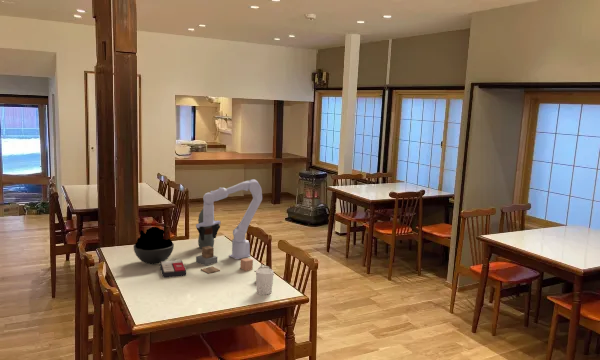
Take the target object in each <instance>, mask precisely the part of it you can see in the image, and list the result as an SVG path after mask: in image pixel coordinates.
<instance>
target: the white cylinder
mask: <svg viewBox="0 0 600 360" xmlns="http://www.w3.org/2000/svg"><path fill="white" fill-rule="evenodd" d="M255 271H256V272H255V282H256V283H255V285H256V293H257V294H259V295H261V294H262V295H263V296H266V295H267V294H268V295H270V294H272V290H273V284H274V275H273V274H274V273H275V272H274V270H273V269H271V268H270V269H268V268H260V269H256V270H255Z"/></svg>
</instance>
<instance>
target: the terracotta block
mask: <svg viewBox="0 0 600 360" xmlns="http://www.w3.org/2000/svg"><path fill="white" fill-rule="evenodd" d="M253 266H254V259H252V258H249V257H245V258H240V268H239V269H240V270H242V269H243V270H242V271H244V272H246V271H251V270H253Z"/></svg>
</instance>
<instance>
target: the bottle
mask: <svg viewBox="0 0 600 360" xmlns="http://www.w3.org/2000/svg"><path fill="white" fill-rule="evenodd" d="M197 218H198V221H197V222H198V223H197V224H199V223H202V222H203V208H202V209H201V211H200V212H199V214H198V217H197ZM214 221H216V220H215V219H214ZM203 228H204V229H205V233H204V240H201V238H200V234H199V233H198V240H197V244H198V248H199V249H200V250H202V247H206V246H211V247H213V248H214V246H215V238H213V236H212V233H213V232H212V226H206V227H203Z"/></svg>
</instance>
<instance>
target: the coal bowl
mask: <svg viewBox="0 0 600 360" xmlns="http://www.w3.org/2000/svg"><path fill="white" fill-rule="evenodd" d="M165 232H166V231H165V230H164V229H162V228H160V227H158V226H151V227H149V228H148V229H146V232H144V231H143V230H140V233H139V237H138V238H137V240H136V242H135V243H134V244H133V251H134V255H135V256H136V257H137V258H138V259H139V260H140V261H141V262H143V263H144V264H148V265H160V262H161V261H167V259H169V257H170V256H171V255H172V253H173V251H174V247H175V246H174V245H175V244H174V242H173V241H172V239H170V238H169V239H166V238H165Z"/></svg>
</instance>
